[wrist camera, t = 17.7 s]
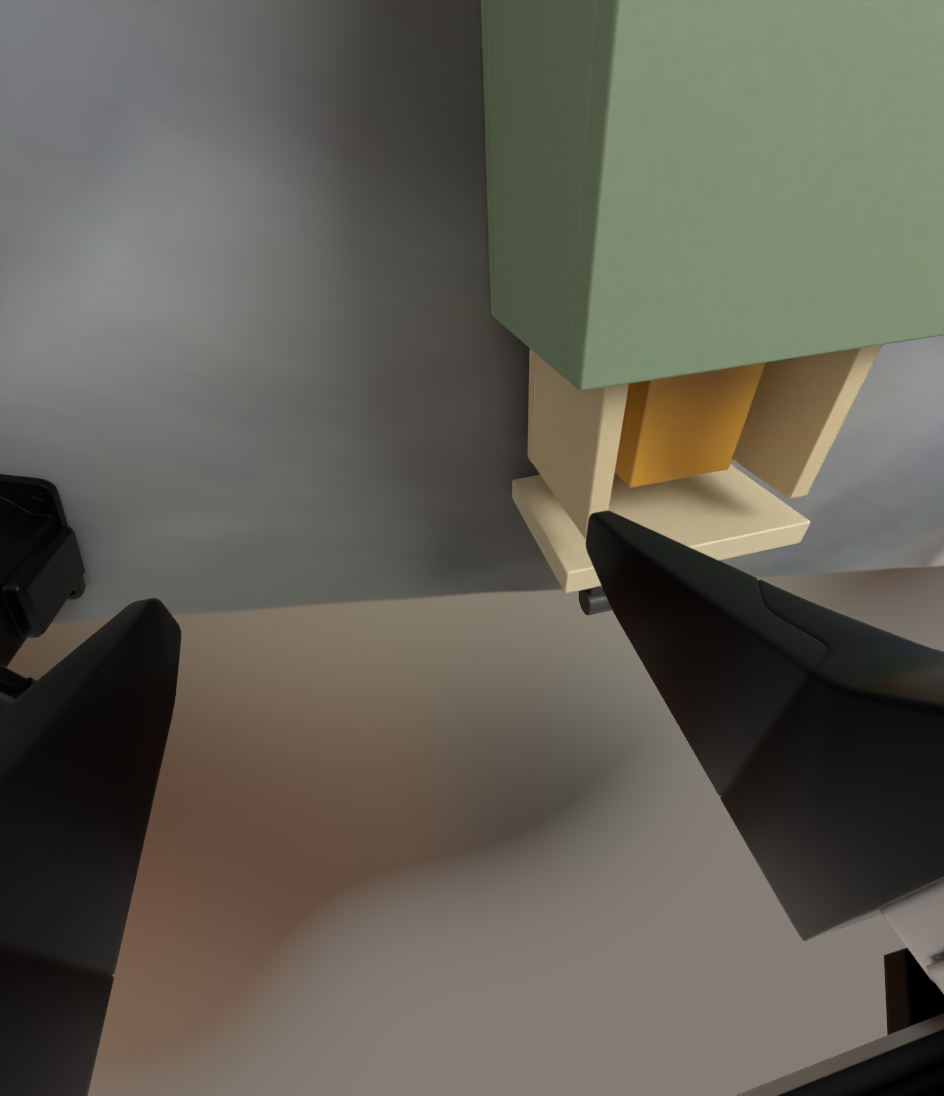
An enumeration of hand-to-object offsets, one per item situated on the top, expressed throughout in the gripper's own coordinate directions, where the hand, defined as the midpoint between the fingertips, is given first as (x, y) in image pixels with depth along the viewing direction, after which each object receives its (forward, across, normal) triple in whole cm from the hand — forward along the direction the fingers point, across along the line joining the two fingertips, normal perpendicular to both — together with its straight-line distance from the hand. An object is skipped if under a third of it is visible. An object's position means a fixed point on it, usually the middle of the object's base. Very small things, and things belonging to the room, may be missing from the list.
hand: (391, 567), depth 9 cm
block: (+10, -12, +2) cm, 16 cm away
